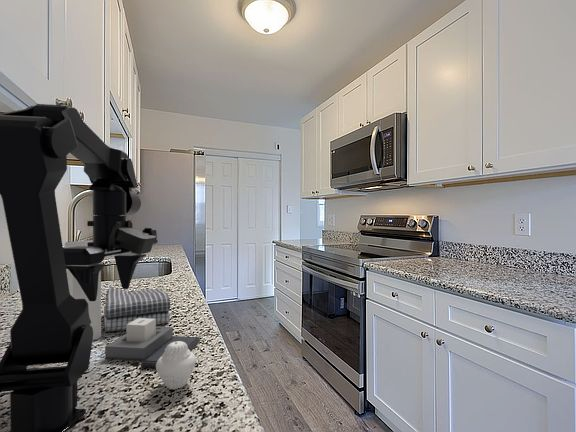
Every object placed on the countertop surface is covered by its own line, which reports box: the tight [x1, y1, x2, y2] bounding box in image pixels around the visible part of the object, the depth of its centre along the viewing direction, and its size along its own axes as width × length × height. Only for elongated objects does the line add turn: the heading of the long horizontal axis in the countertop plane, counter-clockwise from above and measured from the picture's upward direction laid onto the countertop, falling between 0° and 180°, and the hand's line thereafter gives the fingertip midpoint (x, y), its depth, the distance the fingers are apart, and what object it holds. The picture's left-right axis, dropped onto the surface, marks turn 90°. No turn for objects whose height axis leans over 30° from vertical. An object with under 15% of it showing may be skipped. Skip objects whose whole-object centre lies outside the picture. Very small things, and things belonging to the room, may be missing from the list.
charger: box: [125, 318, 157, 342], centre depth 63 cm, size 4×4×5 cm
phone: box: [140, 335, 201, 370], centre depth 61 cm, size 12×6×1 cm, turn 173°
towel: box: [103, 287, 171, 333], centre depth 81 cm, size 15×18×8 cm
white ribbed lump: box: [155, 341, 197, 390], centre depth 50 cm, size 6×6×7 cm
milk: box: [64, 239, 102, 341], centre depth 67 cm, size 6×6×22 cm
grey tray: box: [104, 325, 174, 362], centre depth 63 cm, size 11×8×2 cm
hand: (110, 294), depth 60 cm, fingers open, 9 cm apart
